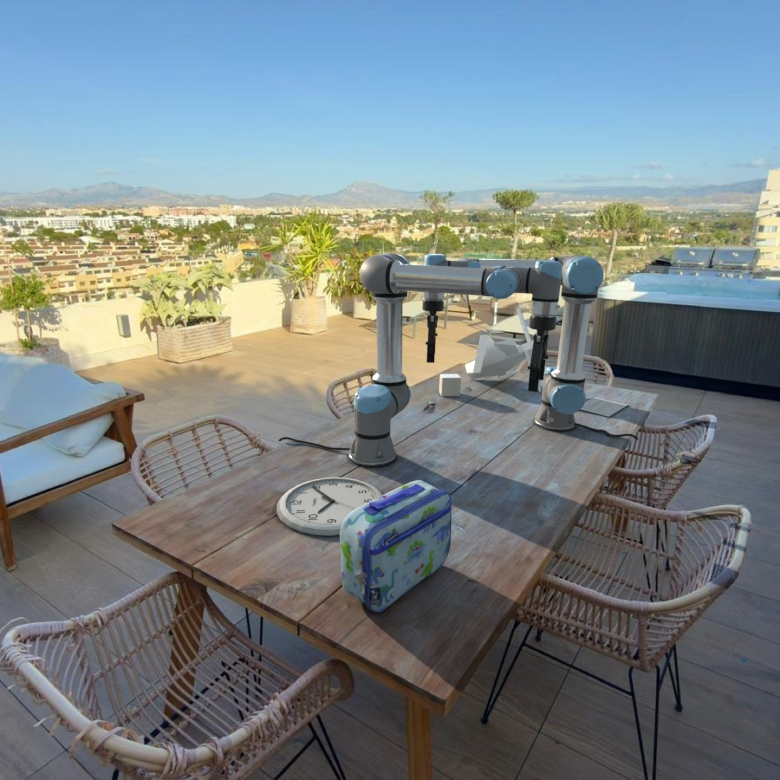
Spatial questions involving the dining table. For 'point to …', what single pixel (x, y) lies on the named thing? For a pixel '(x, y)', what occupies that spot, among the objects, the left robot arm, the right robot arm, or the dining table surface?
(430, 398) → the fork
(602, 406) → the invitation card
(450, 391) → the brick
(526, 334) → the white plastic object
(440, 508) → the lunch box
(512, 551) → the dining table surface
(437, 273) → the left robot arm
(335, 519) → the wall clock
